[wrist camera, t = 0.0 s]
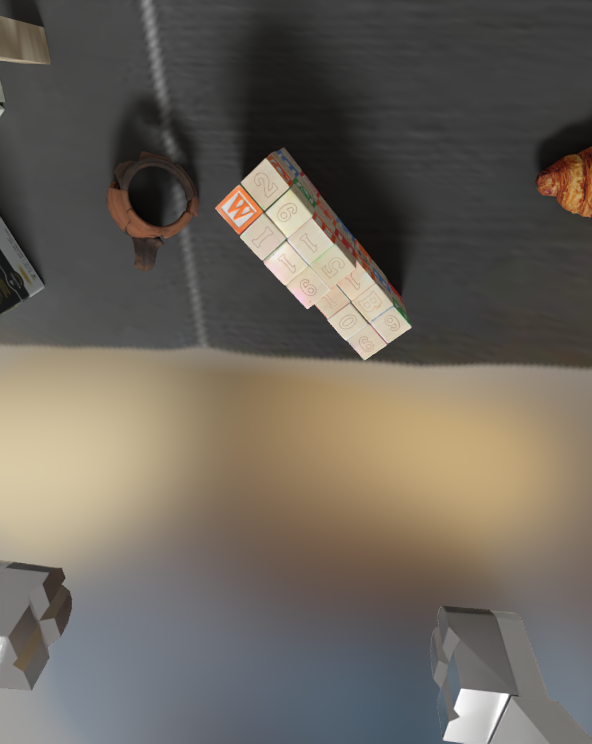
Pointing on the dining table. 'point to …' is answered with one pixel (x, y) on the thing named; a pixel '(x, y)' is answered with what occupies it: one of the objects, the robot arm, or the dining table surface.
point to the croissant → (570, 182)
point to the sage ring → (1, 99)
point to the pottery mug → (131, 222)
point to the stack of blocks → (314, 253)
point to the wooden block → (23, 42)
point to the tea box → (15, 273)
